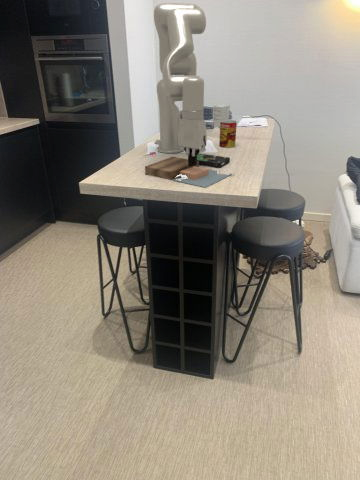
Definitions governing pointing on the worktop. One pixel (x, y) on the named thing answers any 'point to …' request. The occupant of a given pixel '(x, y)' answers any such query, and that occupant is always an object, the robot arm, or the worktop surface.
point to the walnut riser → (168, 167)
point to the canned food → (227, 133)
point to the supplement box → (220, 114)
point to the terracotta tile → (195, 172)
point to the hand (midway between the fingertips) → (192, 165)
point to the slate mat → (205, 179)
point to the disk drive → (212, 160)
